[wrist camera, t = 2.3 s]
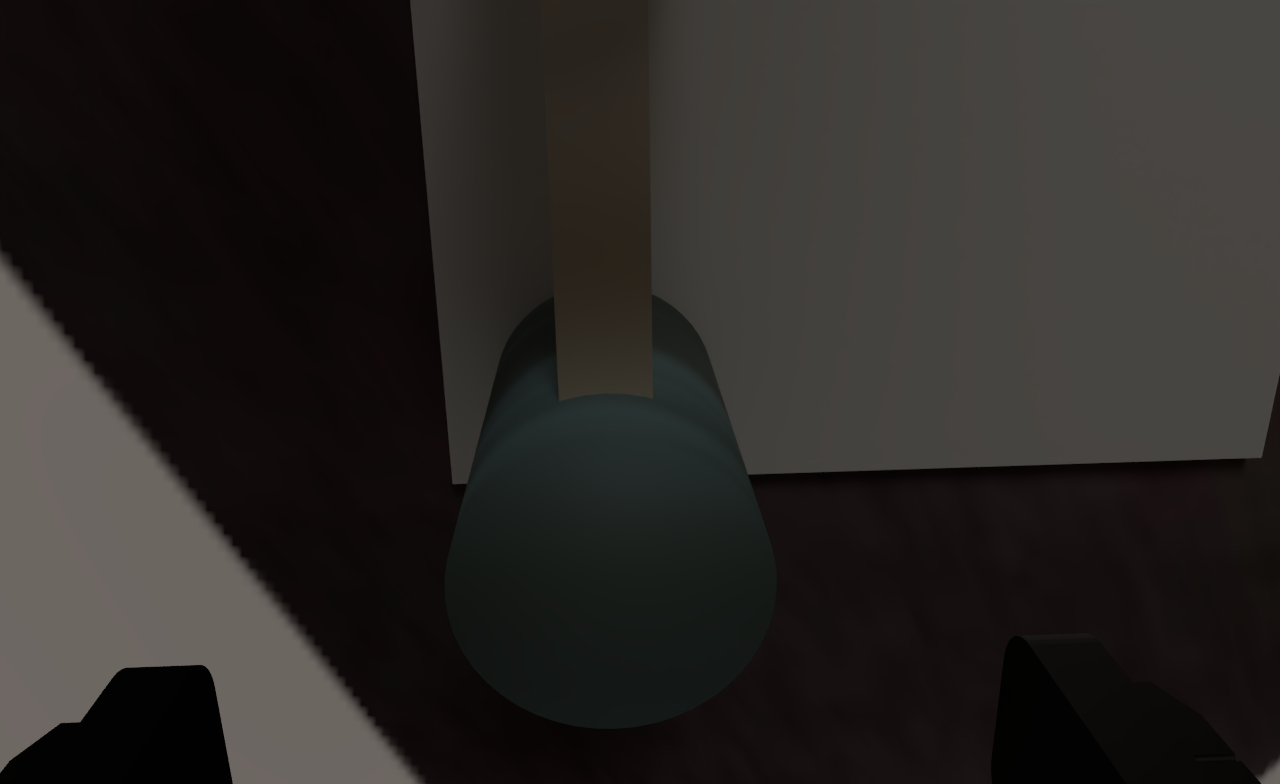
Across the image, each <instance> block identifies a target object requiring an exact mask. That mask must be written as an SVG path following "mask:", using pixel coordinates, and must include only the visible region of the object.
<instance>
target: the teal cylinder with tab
mask: <svg viewBox="0 0 1280 784" xmlns="http://www.w3.org/2000/svg"><path fill="white" fill-rule="evenodd" d="M540 6H541V28H542V50H543V71H544V93H545V114H546V136H547V157H548V179H549V200H550V222H551V243H552V265H553V287H554V296H553V297H552V298H550V299H548V300H546V301H544V302H543V303H542V304H540V305H539V306H537V307H536V308H534V309H533V310H532V311H531V312H530V313H529V314H528V315H527V316H526V317H524V318H523V320H522V321H521V322H520V323H519V324H518V326H517V327H516V328H515V329H514V331H513V332H512V334H511V336H510V337H509V339H508V340H507V343H506V345H505V347H504V349H503V352H502V354H501V357H500V361H499V364H498V368H497V372H496V376H495V379H494V383H493V387H492V391H491V395H490V398H489V402H488V406H487V410H486V414H485V418H484V421H483V425H482V429H481V433H480V437H479V440H478V444H477V448H476V452H475V456H474V459H473V463H472V467H471V471H470V475H469V478H468V482H467V486H466V490H465V494H464V498H463V501H462V505H461V509H460V513H459V517H458V520H457V524H456V528H455V532H454V536H453V539H452V543H451V547H450V551H449V555H448V558H447V564H446V572H445V579H444V582H445V603H446V608H447V614H448V619H449V622H450V625H451V628H452V631H453V634H454V636H455V638H456V640H457V642H458V644H459V646H460V648H461V650H462V652H463V654H464V655H465V657H466V658H467V660H468V661H469V662H470V664H471V665H472V667H473V668H474V669H475V670H476V671H477V673H478V674H479V675H480V676H481V677H482V678H483V679H484V680H485V681H486V682H487V683H488V684H489V685H490V686H491V687H493V688H494V689H495V690H496V691H497V692H498V693H500V694H501V695H502V696H504V697H505V698H507V699H508V700H510V701H511V702H513V703H514V704H516V705H518V706H519V707H521V708H523V709H526V710H528V711H530V712H532V713H534V714H536V715H538V716H541V717H544V718H547V719H550V720H552V721H555V722H560V723H564V724H568V725H572V726H578V727H586V728H595V729H619V728H630V727H638V726H643V725H648V724H653V723H657V722H660V721H663V720H666V719H670V718H673V717H676V716H678V715H680V714H682V713H685V712H687V711H689V710H691V709H694V708H695V707H697V706H699V705H700V704H702V703H704V702H705V701H707V700H709V699H710V698H712V697H713V696H715V695H716V694H717V693H719V692H720V691H721V690H722V689H724V688H725V687H726V686H728V685H729V684H730V683H731V682H732V681H733V680H734V679H735V678H736V677H737V676H738V675H739V674H740V673H741V672H742V670H743V669H744V668H745V667H746V665H747V664H748V663H749V662H750V660H751V659H752V658H753V656H754V655H755V653H756V651H757V650H758V648H759V646H760V644H761V643H762V641H763V639H764V637H765V634H766V632H767V629H768V627H769V625H770V622H771V618H772V614H773V610H774V606H775V599H776V590H777V576H776V564H775V559H774V554H773V549H772V546H771V543H770V540H769V537H768V534H767V531H766V528H765V525H764V522H763V518H762V515H761V512H760V509H759V506H758V503H757V500H756V497H755V494H754V491H753V488H752V485H751V482H750V479H749V476H748V473H747V470H746V467H745V464H744V461H743V458H742V455H741V452H740V449H739V446H738V443H737V440H736V437H735V434H734V431H733V428H732V425H731V422H730V419H729V416H728V413H727V410H726V407H725V404H724V401H723V398H722V395H721V392H720V389H719V386H718V383H717V380H716V377H715V374H714V371H713V368H712V365H711V362H710V359H709V356H708V353H707V350H706V347H705V346H704V344H703V342H702V340H701V338H700V336H699V334H698V333H697V331H696V330H695V329H694V327H693V326H692V324H691V323H690V322H689V321H688V320H687V319H686V318H685V317H684V316H683V315H682V314H681V313H680V312H679V311H678V310H676V309H675V308H674V307H673V306H672V305H670V304H669V303H667V302H665V301H664V300H662V299H660V298H659V297H657V296H655V295H652V280H651V197H650V113H649V30H648V0H540Z"/></svg>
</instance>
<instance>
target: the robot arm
mask: <svg viewBox="0 0 1280 784" xmlns="http://www.w3.org/2000/svg"><path fill="white" fill-rule="evenodd" d="M991 775H992V784H1261V783H1260V782H1259V781H1258V779H1257V778H1256V777H1255V776H1254V775H1253V774H1252V773H1251V771H1250V770H1249V769H1248V768H1247V767H1246V766H1245V765H1244V763H1243V762H1242V761H1239V762H1237V761H1236V759H1235V753H1234V752H1233V751H1232V750H1231V749H1230V748H1229V746H1228V745H1227V744H1226V743H1225V742H1224V741H1223V740H1222V738H1221V737H1220V736H1219V735H1218V734H1217V733H1216V732H1215V730H1214V729H1213V728H1212V727H1211V726H1210V725H1209V724H1208V722H1207V721H1206V720H1205V719H1204V718H1203V717H1202V716H1201V714H1199V713H1198V712H1196V711H1195V710H1193V709H1191V708H1190V707H1188V706H1187V705H1185V704H1184V703H1182V702H1181V701H1179V700H1178V699H1176V698H1175V697H1173V696H1172V695H1170V694H1168V693H1167V692H1165V691H1164V690H1162V689H1161V688H1159V687H1158V686H1156V685H1155V684H1153V683H1152V682H1137V683H1133V682H1132V681H1131V679H1130V678H1129V677H1128V676H1127V674H1126V673H1125V672H1124V671H1123V670H1122V668H1121V667H1120V666H1119V665H1118V663H1117V662H1116V661H1115V660H1114V658H1113V657H1112V656H1111V655H1110V654H1109V652H1108V651H1107V650H1106V649H1105V647H1104V646H1103V645H1102V644H1101V643H1100V641H1099V640H1098V639H1097V638H1096V637H1094V636H1093V635H1091V634H1088V633H1082V634H1056V635H1030V636H1014V637H1013V638H1011V640H1010V641H1009V643H1008V645H1007V647H1006V651H1005V655H1004V662H1003V670H1002V678H1001V687H1000V695H999V703H998V711H997V719H996V727H995V735H994V744H993V752H992V762H991ZM0 784H233V783H232V777H231V772H230V767H229V761H228V756H227V751H226V745H225V739H224V734H223V728H222V723H221V718H220V713H219V707H218V701H217V696H216V691H215V686H214V682H213V678H212V676H211V674H210V672H209V670H208V669H207V668H206V667H205V666H203V665H190V666H166V667H165V666H164V667H139V668H124V669H122V670H120V671H119V672H118V673H116V675H115V676H114V677H113V678H112V679H111V681H110V682H109V684H108V685H107V686H106V688H105V689H104V690H103V692H102V693H101V695H100V696H99V697H98V699H97V700H96V701H95V703H94V704H93V706H92V707H91V708H90V710H89V711H88V713H87V714H86V715H85V716H84V718H83V719H82V721H81V722H79V723H61V724H59V725H58V726H57V727H55V728H54V729H52V730H51V731H50V732H48V733H47V734H46V735H44V736H43V737H42V738H40V739H39V740H38V741H36V742H35V743H33V744H32V745H31V746H30V747H28V748H27V749H25V750H24V751H23V752H21V753H20V754H19V755H17V756H16V757H14V758H13V759H12V760H10V761H9V763H8V764H7V765H6V767H5V768H4V769H3V770H2V772H1V773H0Z"/></svg>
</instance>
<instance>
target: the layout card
mask: <svg viewBox="0 0 1280 784" xmlns="http://www.w3.org/2000/svg"><path fill="white" fill-rule="evenodd" d="M410 5H411V16H412V28H413V39H414V50H415V62H416V73H417V85H418V96H419V107H420V119H421V130H422V141H423V153H424V164H425V176H426V187H427V198H428V210H429V221H430V232H431V244H432V255H433V267H434V278H435V289H436V301H437V312H438V323H439V335H440V346H441V358H442V369H443V380H444V392H445V403H446V414H447V426H448V437H449V449H450V460H451V471H452V483H453V484H467V482H468V478H469V475H470V471H471V467H472V463H473V459H474V456H475V452H476V448H477V444H478V440H479V437H480V433H481V429H482V425H483V421H484V418H485V414H486V410H487V406H488V402H489V398H490V395H491V391H492V387H493V383H494V379H495V376H496V372H497V368H498V364H499V361H500V357H501V354H502V352H503V349H504V347H505V345H506V343H507V340H508V339H509V337H510V336H511V334H512V332H513V331H514V329H515V328H516V327H517V326H518V324H519V323H520V322H521V321H522V320H523V318H524V317H526V316H527V315H528V314H529V313H530V312H531V311H532V310H533V309H534V308H536V307H537V306H539V305H540V304H542V303H543V302H544V301H546V300H548V299H550V298H552V297H553V296H554V287H553V265H552V243H551V222H550V200H549V179H548V157H547V136H546V114H545V93H544V71H543V50H542V28H541V6H540V0H410ZM648 30H649V113H650V197H651V280H652V295H655V296H657V297H659V298H660V299H662V300H664V301H665V302H667V303H669V304H670V305H672V306H673V307H674V308H675V309H676V310H678V311H679V312H680V313H681V314H682V315H683V316H684V317H685V318H686V319H687V320H688V321H689V322H690V323H691V324H692V326H693V327H694V329H695V330H696V331H697V333H698V334H699V336H700V338H701V340H702V342H703V344H704V346H705V347H706V350H707V353H708V356H709V359H710V362H711V365H712V368H713V371H714V374H715V377H716V380H717V383H718V386H719V389H720V392H721V395H722V398H723V401H724V404H725V407H726V410H727V413H728V416H729V419H730V422H731V425H732V428H733V431H734V434H735V437H736V440H737V443H738V446H739V449H740V452H741V455H742V458H743V461H744V464H745V467H746V470H747V473H748V474H778V473H809V472H839V471H870V470H900V469H931V468H961V467H992V466H1023V465H1053V464H1084V463H1114V462H1145V461H1175V460H1206V459H1237V458H1262V453H1263V448H1264V444H1265V439H1266V435H1267V430H1268V425H1269V421H1270V416H1271V411H1272V407H1273V402H1274V397H1275V393H1276V388H1277V383H1278V379H1279V374H1280V0H648Z"/></svg>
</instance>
